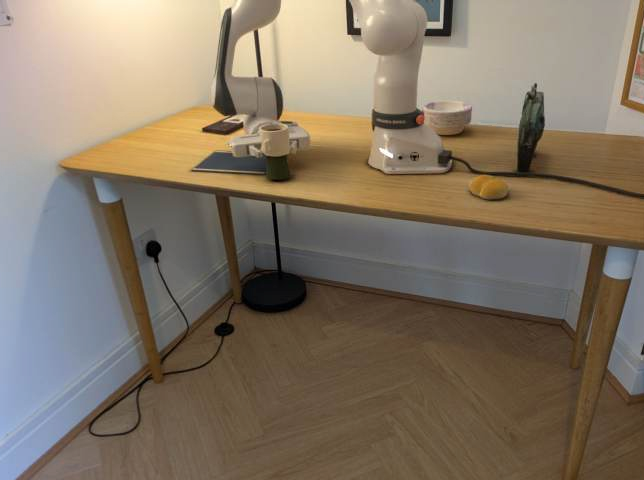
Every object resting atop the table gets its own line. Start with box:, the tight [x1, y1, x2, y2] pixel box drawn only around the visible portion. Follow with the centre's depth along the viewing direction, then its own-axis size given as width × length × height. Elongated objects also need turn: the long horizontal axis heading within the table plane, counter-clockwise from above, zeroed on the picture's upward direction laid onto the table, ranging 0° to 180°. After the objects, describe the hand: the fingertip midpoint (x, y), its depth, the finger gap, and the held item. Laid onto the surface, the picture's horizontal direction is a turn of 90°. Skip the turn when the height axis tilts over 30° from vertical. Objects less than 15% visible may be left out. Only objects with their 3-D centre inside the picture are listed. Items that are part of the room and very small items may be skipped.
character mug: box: [259, 124, 292, 181], centre depth 140 cm, size 11×7×13 cm, turn 163°
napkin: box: [191, 150, 267, 176], centre depth 153 cm, size 20×16×1 cm
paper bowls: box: [421, 100, 473, 136], centre depth 173 cm, size 15×15×8 cm
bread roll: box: [468, 174, 509, 200], centre depth 132 cm, size 8×9×4 cm
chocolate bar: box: [201, 115, 245, 135], centre depth 184 cm, size 9×1×18 cm
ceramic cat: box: [516, 82, 546, 173], centre depth 145 cm, size 20×6×20 cm, turn 162°
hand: (276, 152), depth 139 cm, fingers closed on character mug, 7 cm apart
